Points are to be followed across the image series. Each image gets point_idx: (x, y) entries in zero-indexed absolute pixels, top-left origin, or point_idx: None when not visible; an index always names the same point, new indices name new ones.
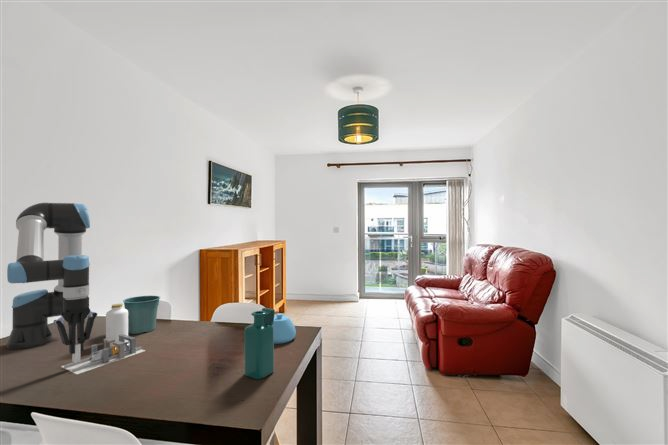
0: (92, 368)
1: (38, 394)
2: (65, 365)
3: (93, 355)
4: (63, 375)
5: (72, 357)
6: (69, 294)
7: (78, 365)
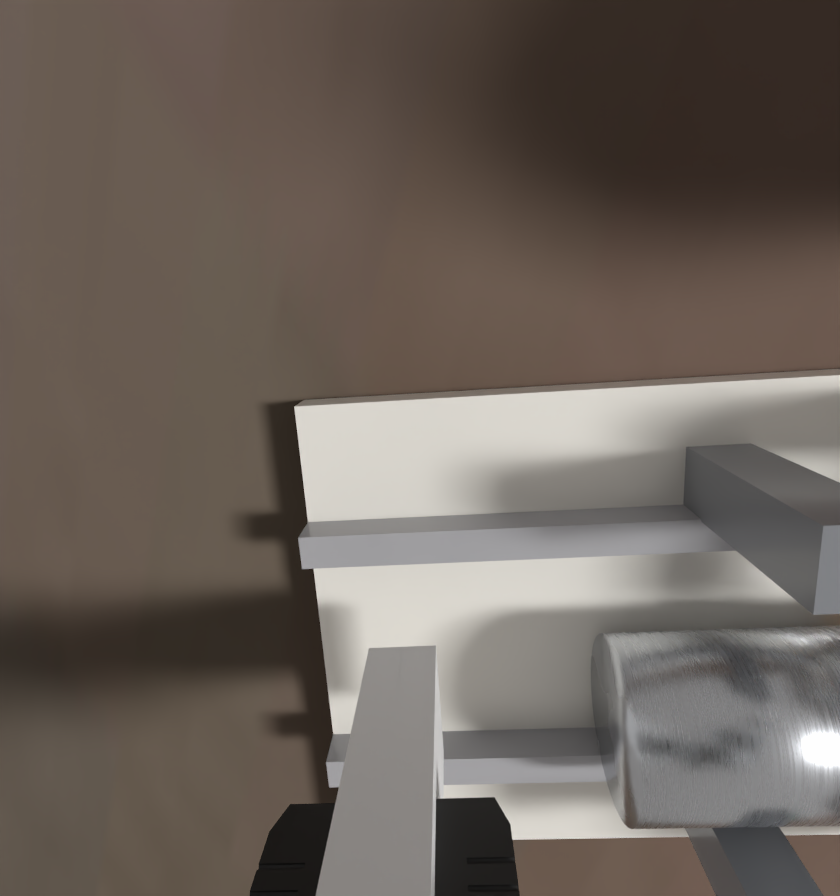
0: (515, 826)
1: (27, 891)
2: (309, 557)
3: (626, 799)
4: (274, 646)
5: (361, 698)
6: None
7: (456, 589)
